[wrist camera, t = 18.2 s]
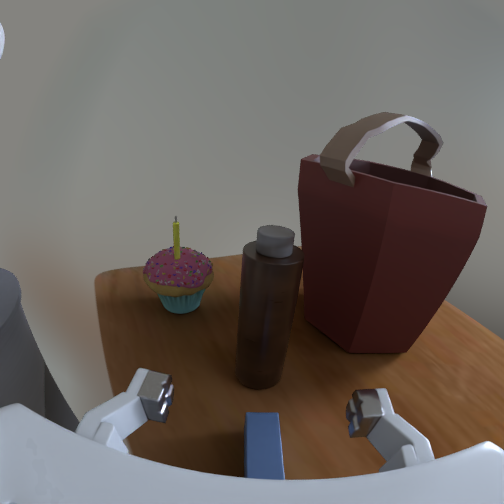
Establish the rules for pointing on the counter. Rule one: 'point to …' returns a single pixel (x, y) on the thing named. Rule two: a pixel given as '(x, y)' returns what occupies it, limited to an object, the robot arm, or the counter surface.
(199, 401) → the counter surface
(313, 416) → the counter surface
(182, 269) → the cupcake
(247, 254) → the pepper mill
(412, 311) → the bucket
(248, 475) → the blue stick
